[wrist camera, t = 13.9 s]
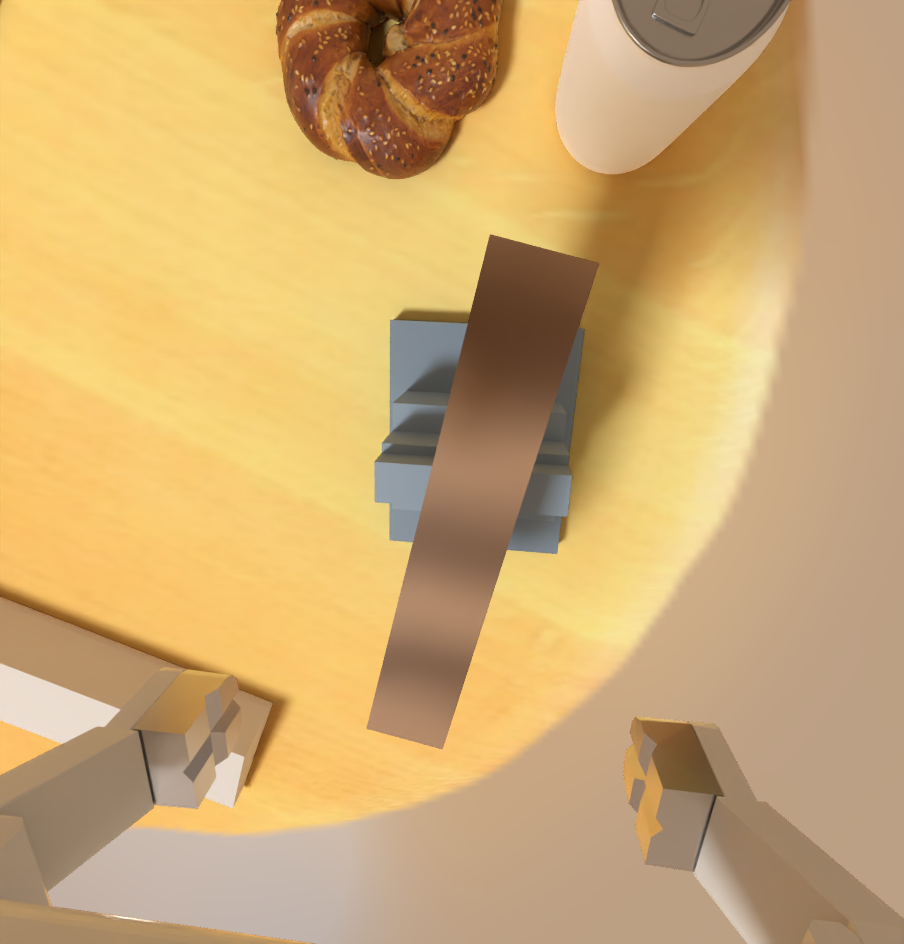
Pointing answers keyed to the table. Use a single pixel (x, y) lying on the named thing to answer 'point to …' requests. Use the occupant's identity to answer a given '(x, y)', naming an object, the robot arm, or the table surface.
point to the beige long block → (94, 687)
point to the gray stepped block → (420, 422)
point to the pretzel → (386, 76)
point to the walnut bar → (478, 479)
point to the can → (652, 72)
